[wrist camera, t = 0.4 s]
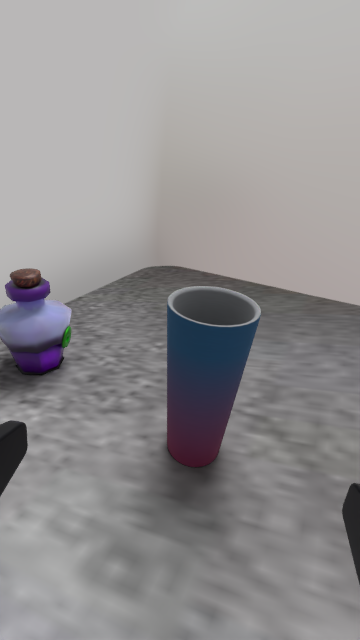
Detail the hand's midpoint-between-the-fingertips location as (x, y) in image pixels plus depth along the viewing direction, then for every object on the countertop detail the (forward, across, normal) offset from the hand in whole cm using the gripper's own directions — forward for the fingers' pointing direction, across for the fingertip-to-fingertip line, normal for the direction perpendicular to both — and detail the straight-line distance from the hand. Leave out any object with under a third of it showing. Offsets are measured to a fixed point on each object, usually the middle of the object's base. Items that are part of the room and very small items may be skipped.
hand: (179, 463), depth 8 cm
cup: (+17, 0, +14) cm, 22 cm away
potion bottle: (+26, +20, +12) cm, 35 cm away
